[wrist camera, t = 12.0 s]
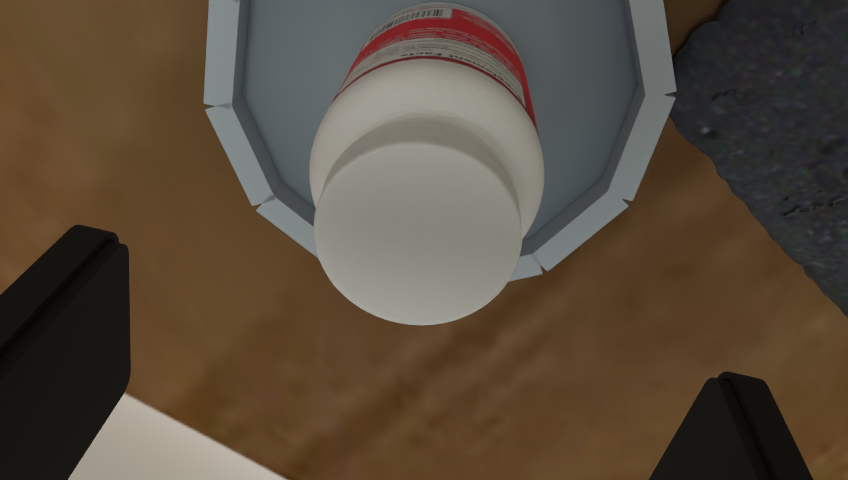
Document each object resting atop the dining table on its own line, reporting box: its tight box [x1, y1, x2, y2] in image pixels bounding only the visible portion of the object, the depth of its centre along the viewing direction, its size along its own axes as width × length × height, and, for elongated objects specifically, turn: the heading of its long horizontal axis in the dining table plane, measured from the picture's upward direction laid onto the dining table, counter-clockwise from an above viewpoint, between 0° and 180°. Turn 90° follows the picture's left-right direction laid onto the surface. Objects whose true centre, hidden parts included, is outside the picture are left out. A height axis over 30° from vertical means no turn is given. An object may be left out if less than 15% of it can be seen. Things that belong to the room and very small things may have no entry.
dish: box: [204, 0, 677, 282], centre depth 25 cm, size 16×16×2 cm
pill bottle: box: [309, 2, 544, 325], centre depth 20 cm, size 6×6×11 cm
